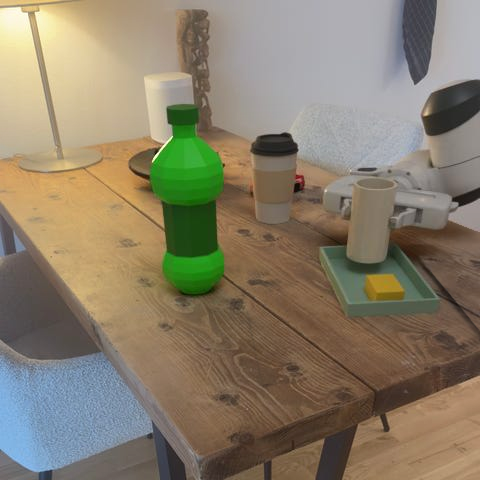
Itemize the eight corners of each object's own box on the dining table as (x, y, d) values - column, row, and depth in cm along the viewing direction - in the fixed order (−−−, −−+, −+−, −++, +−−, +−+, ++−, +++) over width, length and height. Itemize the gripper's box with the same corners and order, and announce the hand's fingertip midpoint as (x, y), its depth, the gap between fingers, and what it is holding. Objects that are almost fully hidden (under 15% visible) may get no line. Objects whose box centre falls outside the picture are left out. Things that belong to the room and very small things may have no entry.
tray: (318, 261, 95) (319, 246, 94) (393, 257, 96) (396, 242, 94) (346, 321, 79) (348, 304, 78) (436, 316, 80) (440, 299, 78)
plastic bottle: (217, 305, 84) (208, 116, 68) (151, 297, 86) (128, 112, 70) (236, 277, 91) (232, 101, 75) (175, 271, 94) (159, 99, 78)
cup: (380, 247, 92) (390, 176, 85) (391, 262, 87) (403, 188, 81) (342, 248, 92) (349, 178, 85) (351, 264, 87) (359, 190, 80)
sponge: (364, 290, 85) (366, 274, 84) (390, 289, 85) (392, 273, 84) (374, 308, 81) (377, 292, 79) (402, 307, 81) (405, 291, 79)
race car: (257, 200, 122) (257, 181, 119) (245, 193, 125) (244, 175, 123) (308, 190, 126) (309, 171, 124) (295, 184, 130) (296, 165, 128)
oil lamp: (218, 164, 145) (216, 131, 140) (235, 200, 122) (234, 162, 117) (130, 170, 142) (126, 136, 137) (130, 207, 119) (125, 169, 114)
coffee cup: (269, 229, 108) (270, 143, 98) (241, 216, 113) (240, 134, 104) (304, 219, 112) (309, 135, 102) (276, 207, 118) (278, 127, 108)
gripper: (457, 222, 92) (433, 251, 83) (340, 204, 101) (307, 228, 91) (466, 182, 88) (442, 208, 79) (344, 166, 97) (309, 188, 88)
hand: (368, 219), depth 85 cm, fingers closed on cup, 6 cm apart
